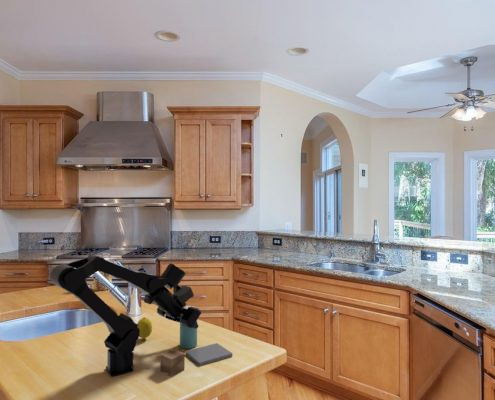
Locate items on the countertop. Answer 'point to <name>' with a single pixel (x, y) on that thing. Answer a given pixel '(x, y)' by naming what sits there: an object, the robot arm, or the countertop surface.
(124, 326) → the robot arm
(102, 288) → the candy box
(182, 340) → the spice jar
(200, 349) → the slate coaster
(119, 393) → the countertop surface
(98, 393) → the countertop surface
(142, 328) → the lemon
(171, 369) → the walnut block
